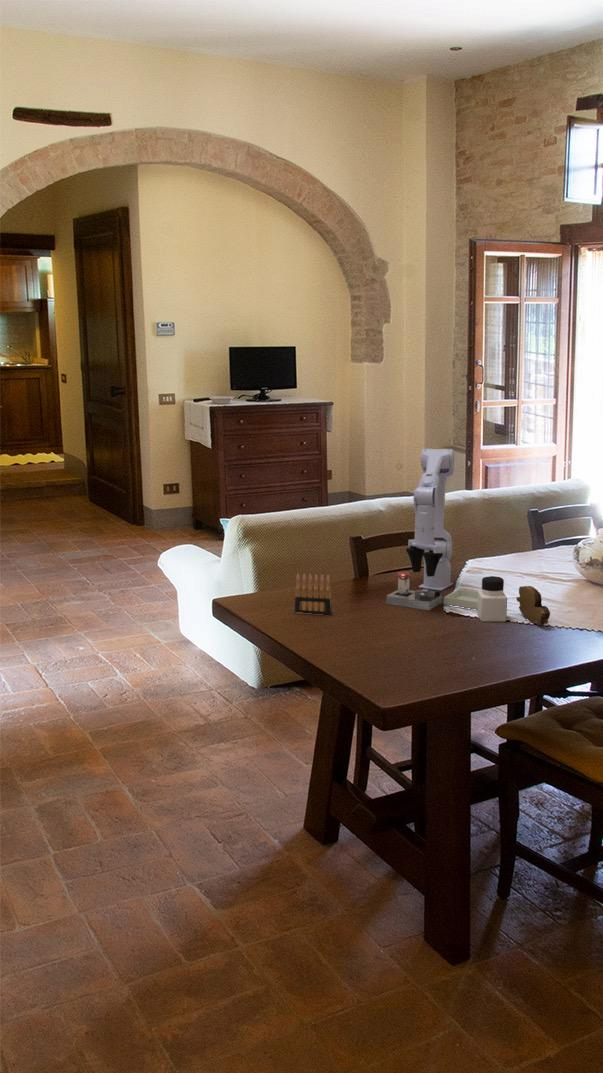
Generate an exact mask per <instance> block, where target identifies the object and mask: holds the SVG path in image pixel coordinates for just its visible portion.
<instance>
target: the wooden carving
mask: <svg viewBox="0 0 603 1073" xmlns="http://www.w3.org/2000/svg"><path fill="white" fill-rule="evenodd" d="M541 594H542V593H541V592H539V590H538V589H536V588H535V587H534V586H531V585H524V586H522V585H521V586H519V588H518V595H519V596H517V597H516V601H517V602H518V603H519V607H518V609H519V611H520V613H521V614H522V617H524V619H526V620H527V619H528V620H529V621H530V622H529V621H528V620H527V621H528V622H529V623H536V624H537V625H538V626H544V625H548V624H549V623H548V622H549V619H550V616H551V612H550V610H549V607H548V606H546V605H542V595H541Z"/></svg>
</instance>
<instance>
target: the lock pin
mask: <svg viewBox="0 0 603 1073" xmlns="http://www.w3.org/2000/svg"><path fill="white" fill-rule="evenodd" d="M396 577H397V590H398V595H400V596H406V597H407V596H409V590H410V581H411V579H410V578H412V573H411V572H410V571H399V572H397V573H396Z"/></svg>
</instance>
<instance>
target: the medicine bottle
mask: <svg viewBox="0 0 603 1073" xmlns="http://www.w3.org/2000/svg"><path fill="white" fill-rule="evenodd" d="M504 581H505V580H504V579H503V577H500V576H498V575H487V576H486V575H485V577H482V579H481V590H478V591H477V592H478V608H477V610H476V611H477V612H476V613H477V617H478V618H479V620H480V621H481V622H482V623H483V622H502V623H504V622H507V612H508V608H507V607H508V597H507V596H506V594H505V592H504V587H505V585H504V584H505V582H504Z"/></svg>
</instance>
